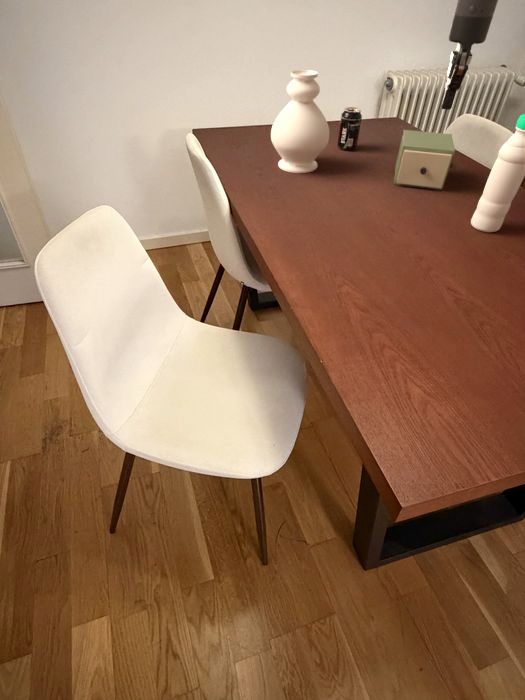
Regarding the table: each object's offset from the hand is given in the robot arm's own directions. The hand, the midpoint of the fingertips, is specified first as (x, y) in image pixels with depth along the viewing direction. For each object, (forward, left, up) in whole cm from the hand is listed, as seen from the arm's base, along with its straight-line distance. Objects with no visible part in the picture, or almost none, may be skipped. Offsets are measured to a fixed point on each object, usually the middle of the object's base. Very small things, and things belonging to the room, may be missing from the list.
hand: (445, 108), depth 94 cm
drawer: (-5, -15, -22) cm, 27 cm away
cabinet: (-5, -17, -23) cm, 29 cm away
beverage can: (+11, -43, -23) cm, 51 cm away
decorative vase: (+30, -27, -23) cm, 47 cm away
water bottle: (-13, +14, -23) cm, 30 cm away
